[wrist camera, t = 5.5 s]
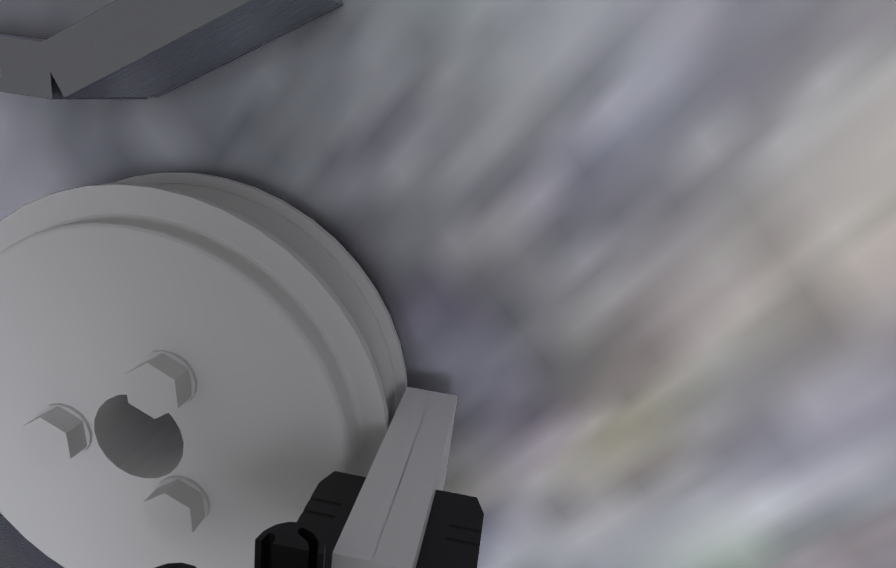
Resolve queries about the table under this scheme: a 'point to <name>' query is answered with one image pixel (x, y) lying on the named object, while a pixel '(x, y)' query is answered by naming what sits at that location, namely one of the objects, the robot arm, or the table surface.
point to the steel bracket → (137, 81)
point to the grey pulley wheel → (181, 370)
